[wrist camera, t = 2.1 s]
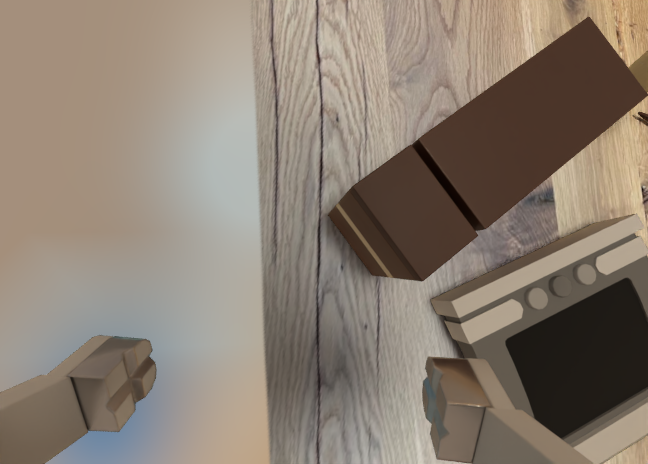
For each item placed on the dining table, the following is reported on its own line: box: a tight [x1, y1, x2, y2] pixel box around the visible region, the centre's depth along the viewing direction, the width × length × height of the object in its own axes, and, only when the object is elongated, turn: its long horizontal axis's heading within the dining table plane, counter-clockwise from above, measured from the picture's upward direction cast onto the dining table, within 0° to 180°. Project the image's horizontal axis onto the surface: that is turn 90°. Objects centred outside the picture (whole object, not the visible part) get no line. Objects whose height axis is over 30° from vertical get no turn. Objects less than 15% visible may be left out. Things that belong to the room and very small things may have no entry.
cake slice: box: [328, 145, 478, 281], centre depth 20 cm, size 4×6×9 cm, turn 37°
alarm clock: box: [431, 214, 648, 464], centre depth 24 cm, size 17×5×16 cm
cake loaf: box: [412, 17, 648, 231], centre depth 22 cm, size 14×6×9 cm, turn 127°
